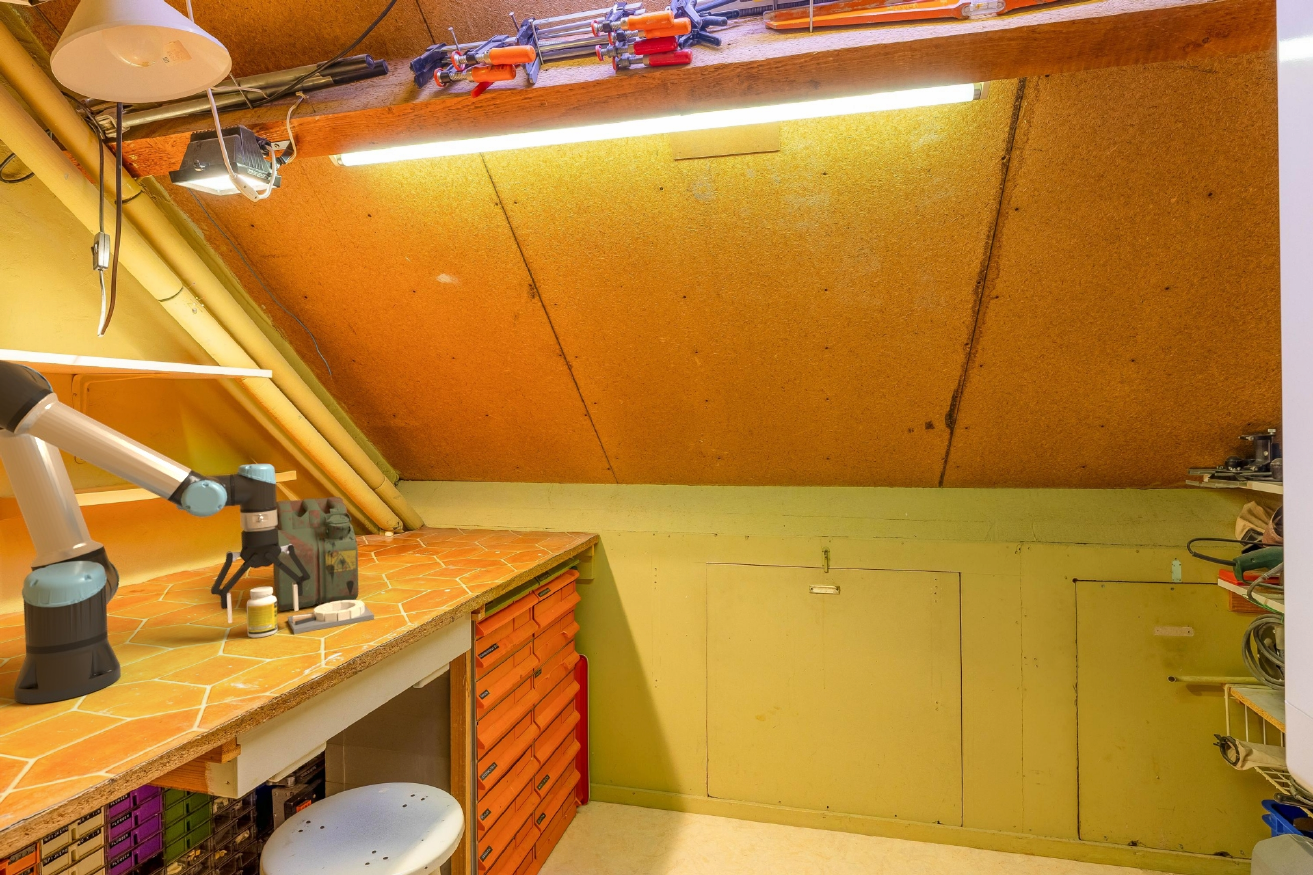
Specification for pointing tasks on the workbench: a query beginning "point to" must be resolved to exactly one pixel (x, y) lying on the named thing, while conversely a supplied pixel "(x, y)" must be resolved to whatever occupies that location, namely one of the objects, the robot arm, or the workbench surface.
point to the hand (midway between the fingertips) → (263, 615)
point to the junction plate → (327, 624)
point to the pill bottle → (262, 612)
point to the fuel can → (317, 551)
